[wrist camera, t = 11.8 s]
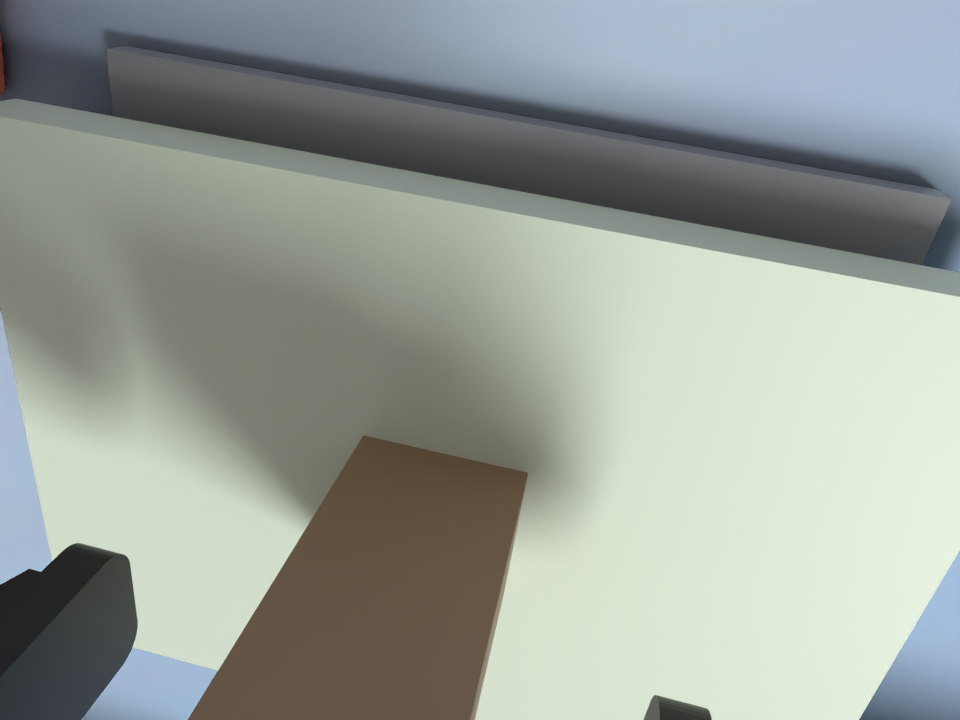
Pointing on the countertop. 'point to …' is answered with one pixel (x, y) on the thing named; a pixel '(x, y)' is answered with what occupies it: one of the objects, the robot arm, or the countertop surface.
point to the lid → (471, 433)
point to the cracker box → (1, 70)
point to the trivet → (529, 154)
